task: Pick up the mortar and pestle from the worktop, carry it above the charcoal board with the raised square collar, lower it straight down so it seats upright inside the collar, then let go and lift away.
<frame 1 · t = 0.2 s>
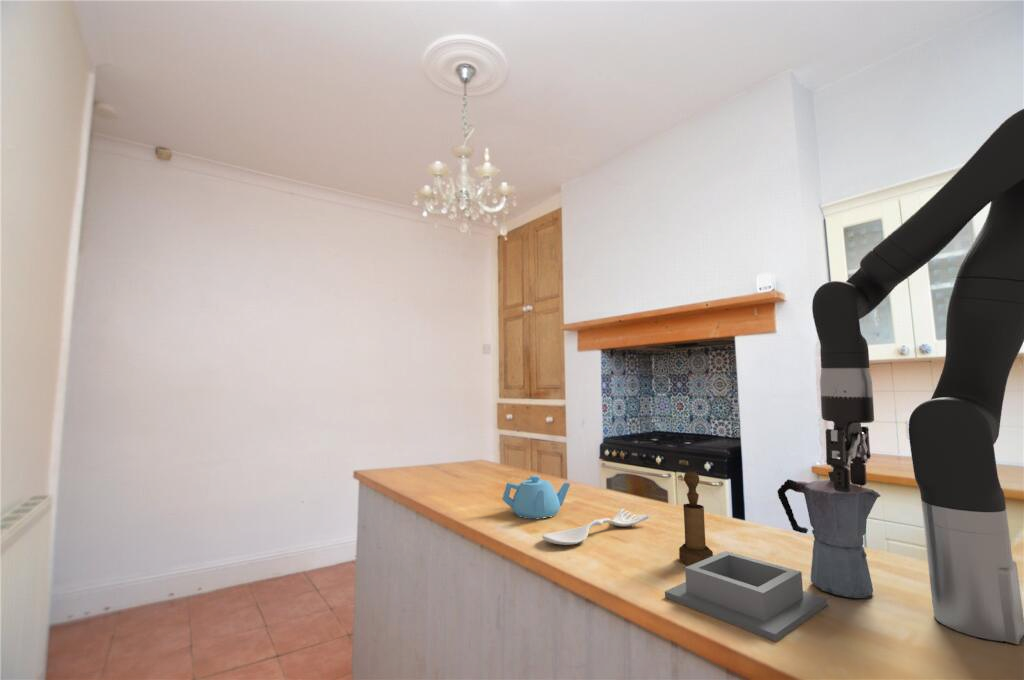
hand: (850, 487, 81), 18 cm above the worktop, tool pointing down, fingers open, 8 cm apart
socket board: (744, 601, 77), on the worktop
moka pot: (839, 589, 81), on the worktop, touching gripper
white spork utensil: (595, 535, 115), on the worktop
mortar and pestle: (696, 562, 95), on the worktop
teapot: (536, 514, 134), on the worktop
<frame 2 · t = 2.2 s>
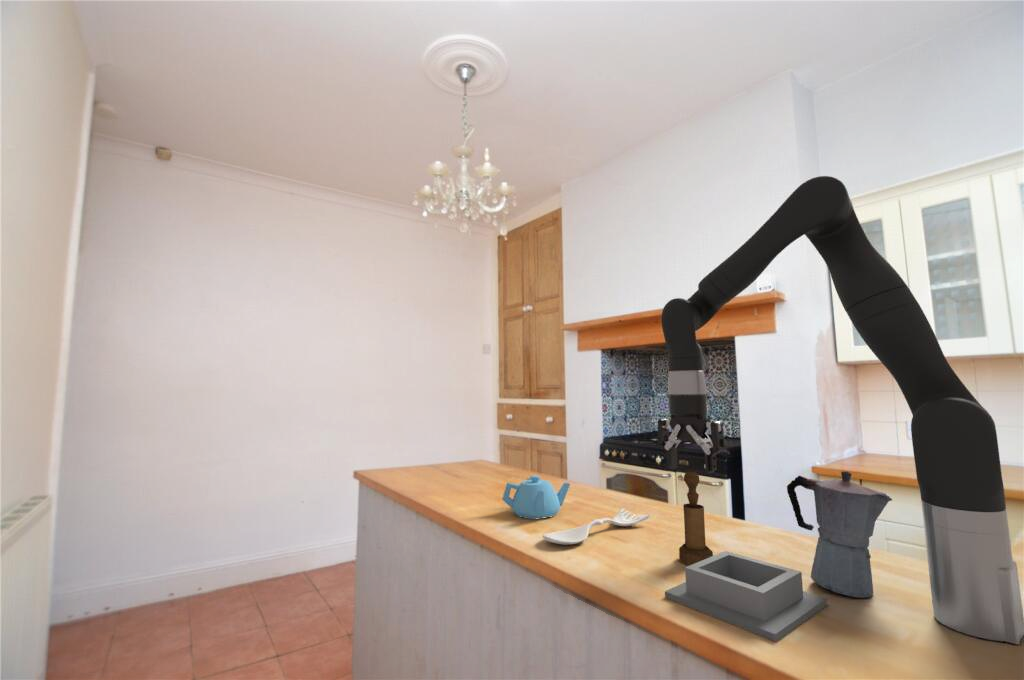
hand: (690, 470, 97), 18 cm above the worktop, tool pointing down, fingers open, 8 cm apart
moka pot: (838, 588, 81), on the worktop
everything else where it was.
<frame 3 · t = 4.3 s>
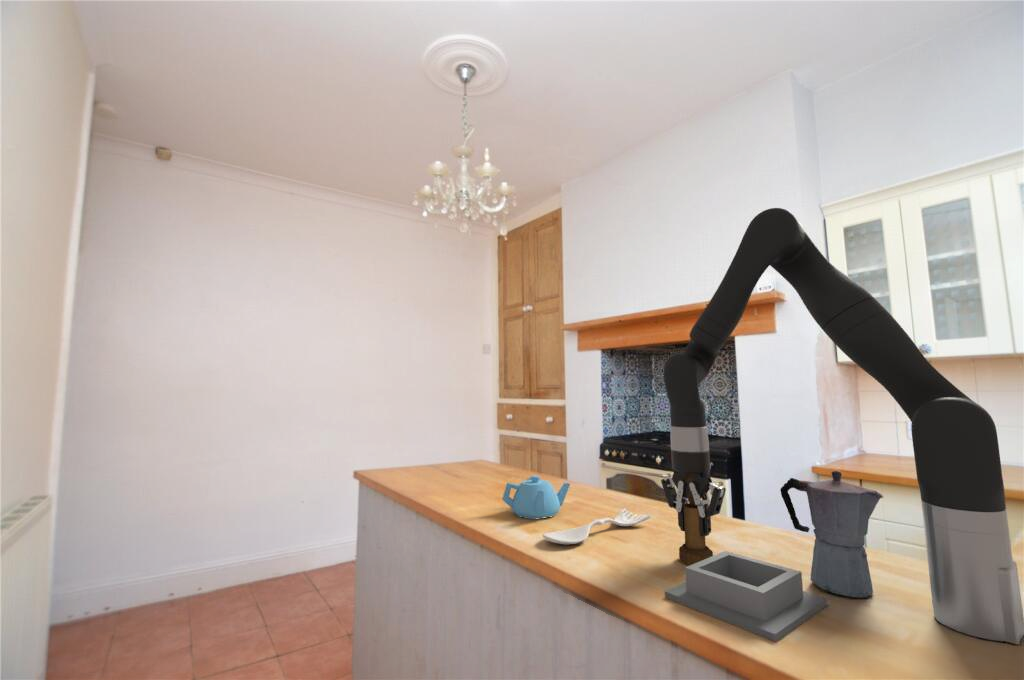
hand: (694, 532, 96), 6 cm above the worktop, tool pointing down, fingers closed on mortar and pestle, 4 cm apart
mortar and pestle: (696, 562, 95), on the worktop, touching gripper
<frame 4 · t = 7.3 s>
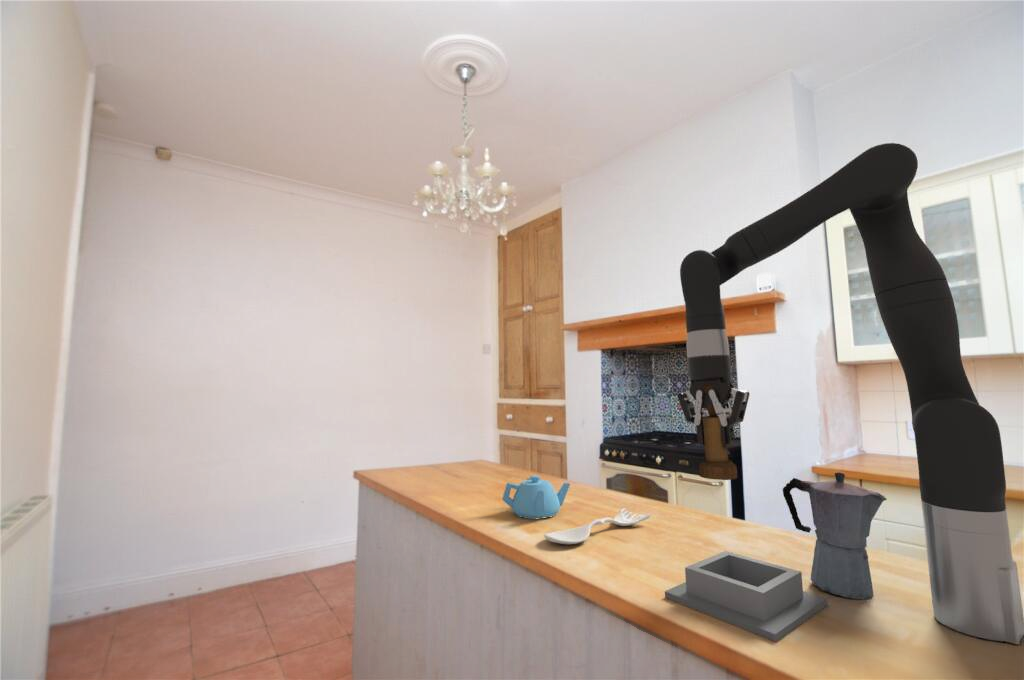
hand: (715, 445, 87), 25 cm above the worktop, tool pointing down, fingers closed on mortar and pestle, 4 cm apart
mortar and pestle: (718, 478, 87), point 19 cm above the worktop, touching gripper
everything else where it was.
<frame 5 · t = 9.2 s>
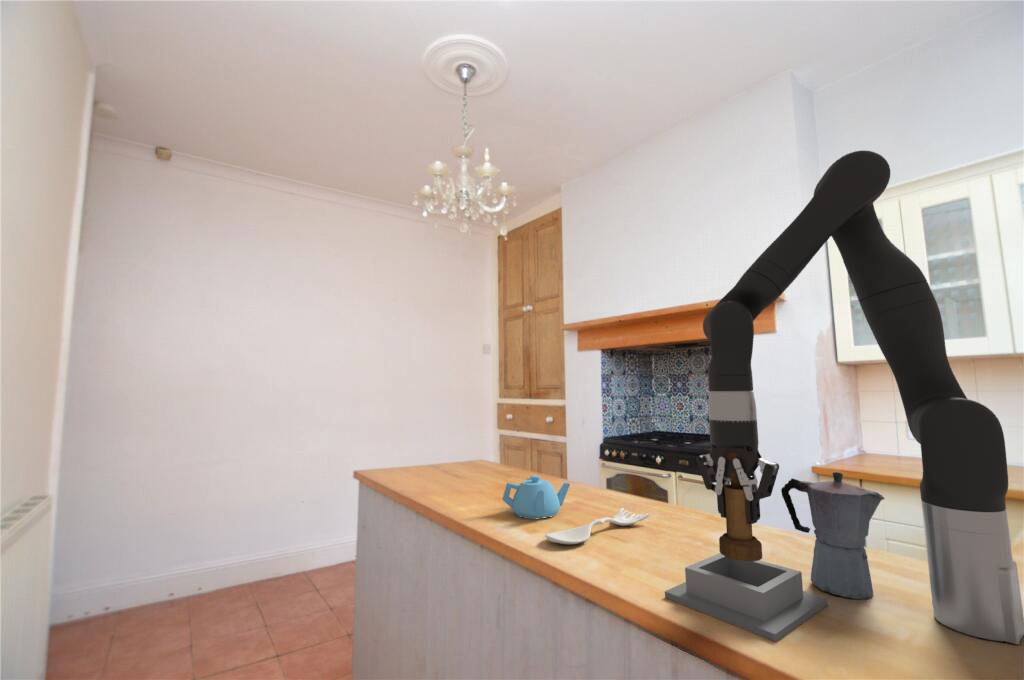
hand: (738, 519, 79), 13 cm above the worktop, tool pointing down, fingers closed on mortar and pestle, 4 cm apart
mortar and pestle: (740, 555, 78), point 7 cm above the worktop, touching gripper
everything else where it was.
when the fingers open (8 cm above the worktop, at t = 11.1 s): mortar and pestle stays where it is, resting on socket board.
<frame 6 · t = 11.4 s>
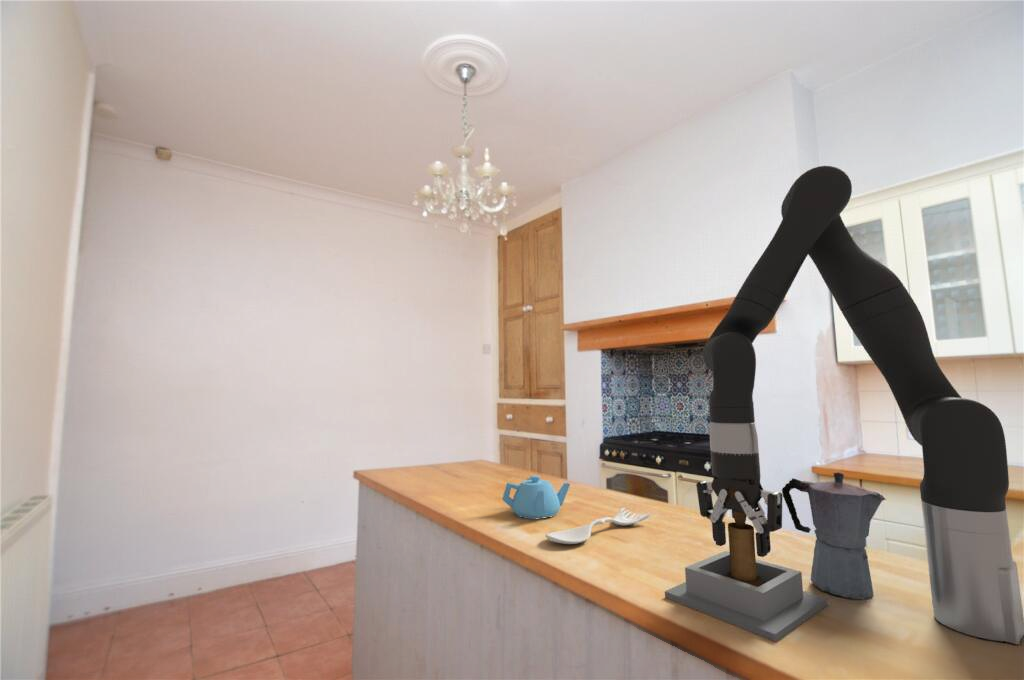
hand: (740, 549, 78), 8 cm above the worktop, tool pointing down, fingers open, 6 cm apart
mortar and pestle: (745, 596, 77), point 1 cm above the worktop, touching socket board
everything else where it was.
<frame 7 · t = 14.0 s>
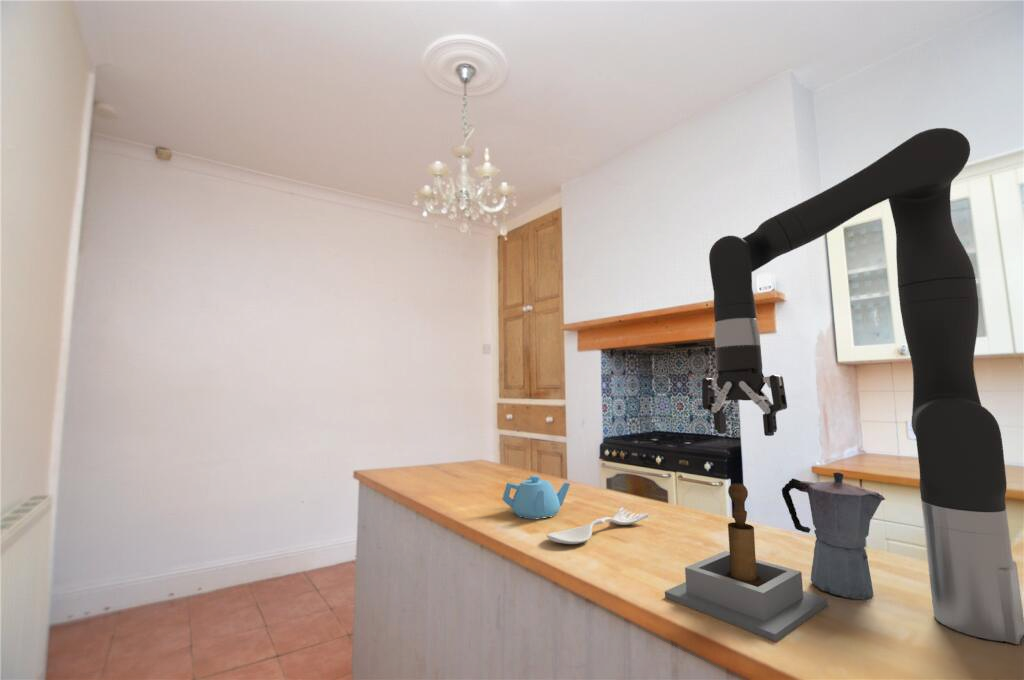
hand: (744, 434, 84), 27 cm above the worktop, tool pointing down, fingers open, 8 cm apart
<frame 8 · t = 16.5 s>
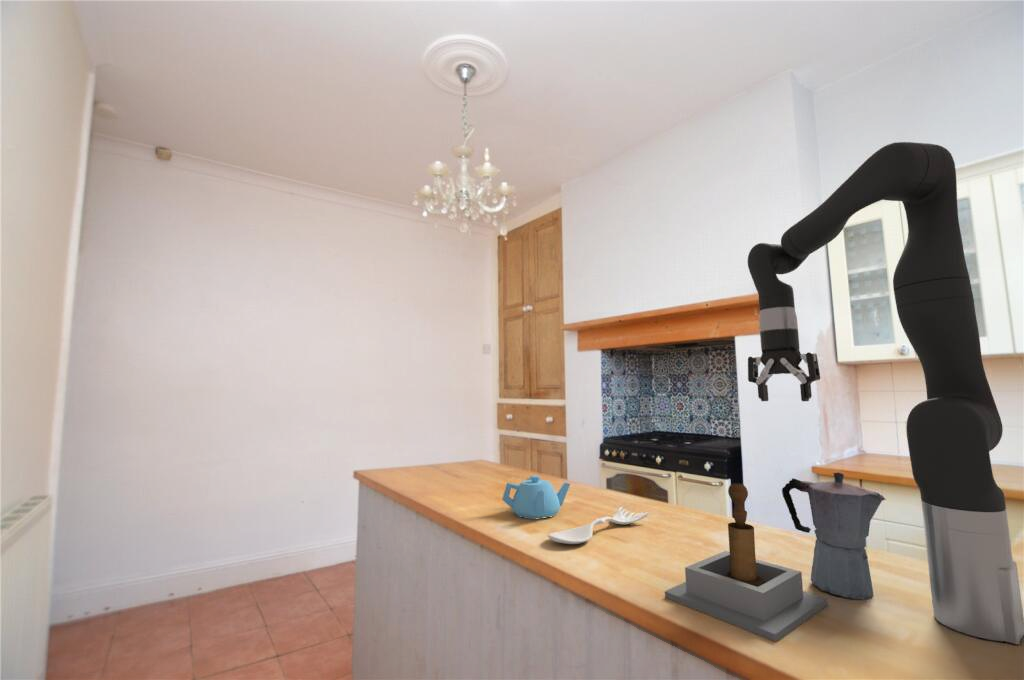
hand: (784, 401, 104), 32 cm above the worktop, tool pointing down, fingers open, 8 cm apart
at the end: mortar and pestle 0.2 cm off-centre on the socket board, point 0.8 cm above the socket board's base; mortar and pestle tilted 0°; the gripper is holding nothing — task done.
